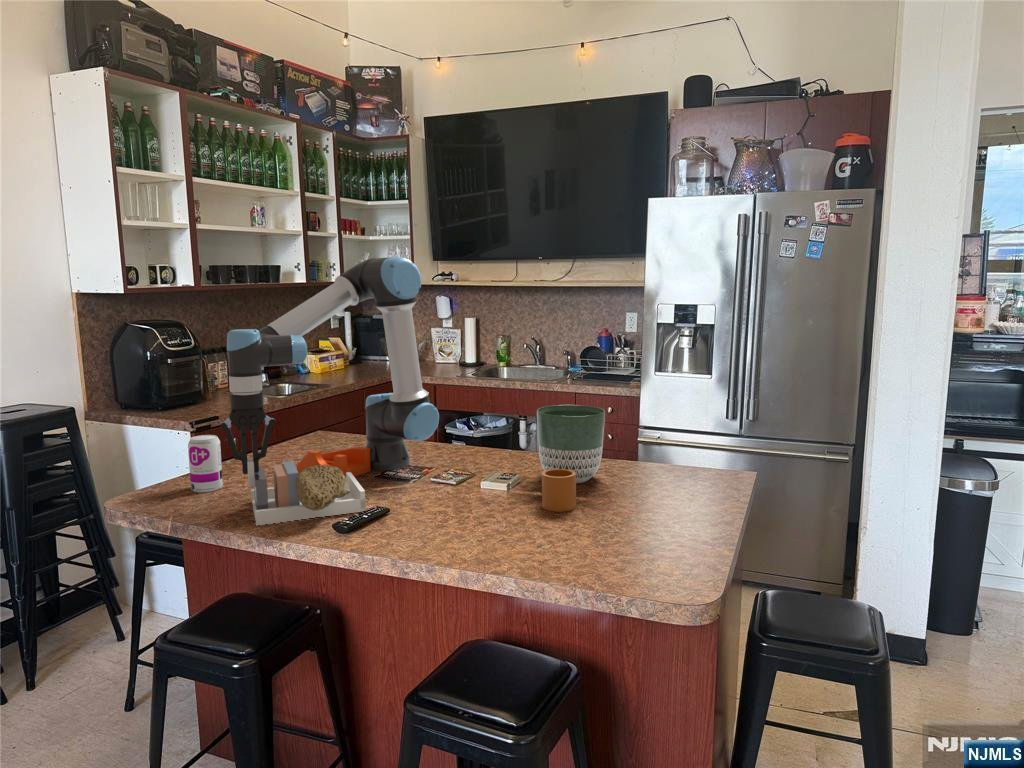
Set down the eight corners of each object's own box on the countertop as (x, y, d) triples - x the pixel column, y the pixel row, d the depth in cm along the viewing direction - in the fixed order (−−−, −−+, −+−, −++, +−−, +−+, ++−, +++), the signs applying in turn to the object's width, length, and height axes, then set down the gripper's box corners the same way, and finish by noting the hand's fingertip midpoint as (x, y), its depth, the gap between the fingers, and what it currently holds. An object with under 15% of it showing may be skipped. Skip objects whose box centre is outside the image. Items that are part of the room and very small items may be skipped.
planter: (526, 488, 195) (527, 413, 192) (549, 471, 213) (549, 403, 210) (593, 495, 188) (594, 418, 185) (611, 477, 206) (612, 407, 203)
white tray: (351, 491, 193) (350, 472, 192) (365, 512, 174) (364, 490, 174) (251, 502, 182) (250, 482, 182) (256, 525, 164) (255, 503, 163)
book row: (294, 497, 183) (292, 461, 182) (300, 512, 171) (298, 472, 170) (274, 500, 181) (272, 462, 180) (279, 514, 169) (277, 474, 168)
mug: (585, 501, 183) (585, 468, 182) (568, 514, 173) (569, 479, 171) (553, 496, 187) (554, 464, 186) (536, 509, 177) (536, 475, 175)
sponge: (315, 478, 183) (275, 470, 163) (338, 460, 182) (301, 450, 163) (339, 519, 179) (302, 516, 160) (363, 501, 178) (329, 496, 159)
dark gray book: (264, 498, 180) (262, 466, 179) (268, 513, 168) (266, 479, 167) (254, 499, 179) (252, 467, 178) (257, 514, 167) (255, 480, 166)
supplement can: (211, 494, 190) (207, 441, 188) (184, 492, 191) (181, 439, 189) (228, 486, 198) (225, 435, 196) (203, 484, 199) (199, 433, 197)
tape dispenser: (370, 474, 211) (370, 448, 210) (342, 485, 200) (341, 457, 199) (327, 467, 220) (326, 442, 219) (297, 477, 209) (295, 450, 208)
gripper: (273, 388, 175) (277, 479, 178) (217, 392, 170) (223, 484, 173) (275, 392, 168) (280, 486, 171) (217, 396, 163) (223, 492, 166)
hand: (251, 485), depth 172 cm, fingers closed
